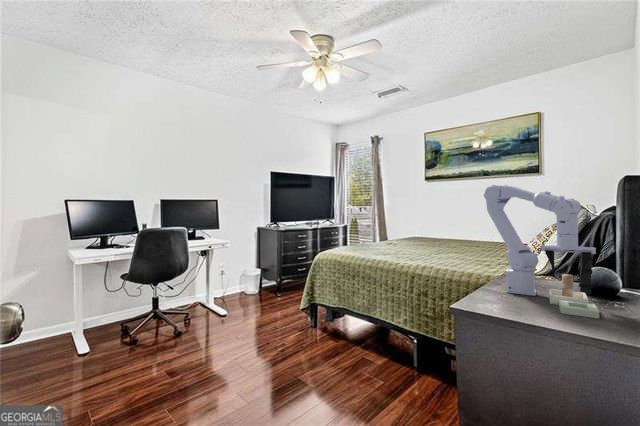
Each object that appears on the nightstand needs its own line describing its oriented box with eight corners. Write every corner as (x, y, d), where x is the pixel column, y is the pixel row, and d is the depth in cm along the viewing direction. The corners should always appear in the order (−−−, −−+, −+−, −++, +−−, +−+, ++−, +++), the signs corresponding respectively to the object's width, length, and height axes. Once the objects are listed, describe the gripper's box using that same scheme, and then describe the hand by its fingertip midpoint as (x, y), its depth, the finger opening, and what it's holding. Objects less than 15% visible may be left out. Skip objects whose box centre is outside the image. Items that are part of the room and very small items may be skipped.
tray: (549, 303, 105) (549, 295, 105) (549, 296, 114) (549, 288, 114) (588, 309, 100) (588, 299, 100) (584, 301, 108) (584, 292, 108)
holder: (560, 313, 96) (560, 306, 96) (559, 305, 104) (559, 299, 104) (599, 318, 91) (599, 311, 91) (594, 310, 98) (594, 304, 98)
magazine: (578, 290, 115) (579, 252, 120) (580, 298, 124) (581, 263, 129) (591, 292, 113) (592, 253, 117) (592, 300, 122) (593, 263, 126)
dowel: (562, 301, 106) (562, 275, 106) (561, 299, 109) (561, 273, 108) (573, 302, 104) (573, 276, 104) (572, 300, 107) (572, 274, 107)
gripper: (541, 234, 107) (541, 273, 107) (597, 235, 99) (597, 277, 99) (541, 232, 113) (541, 269, 113) (593, 233, 105) (594, 273, 105)
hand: (567, 273), depth 106 cm, fingers open, 7 cm apart
